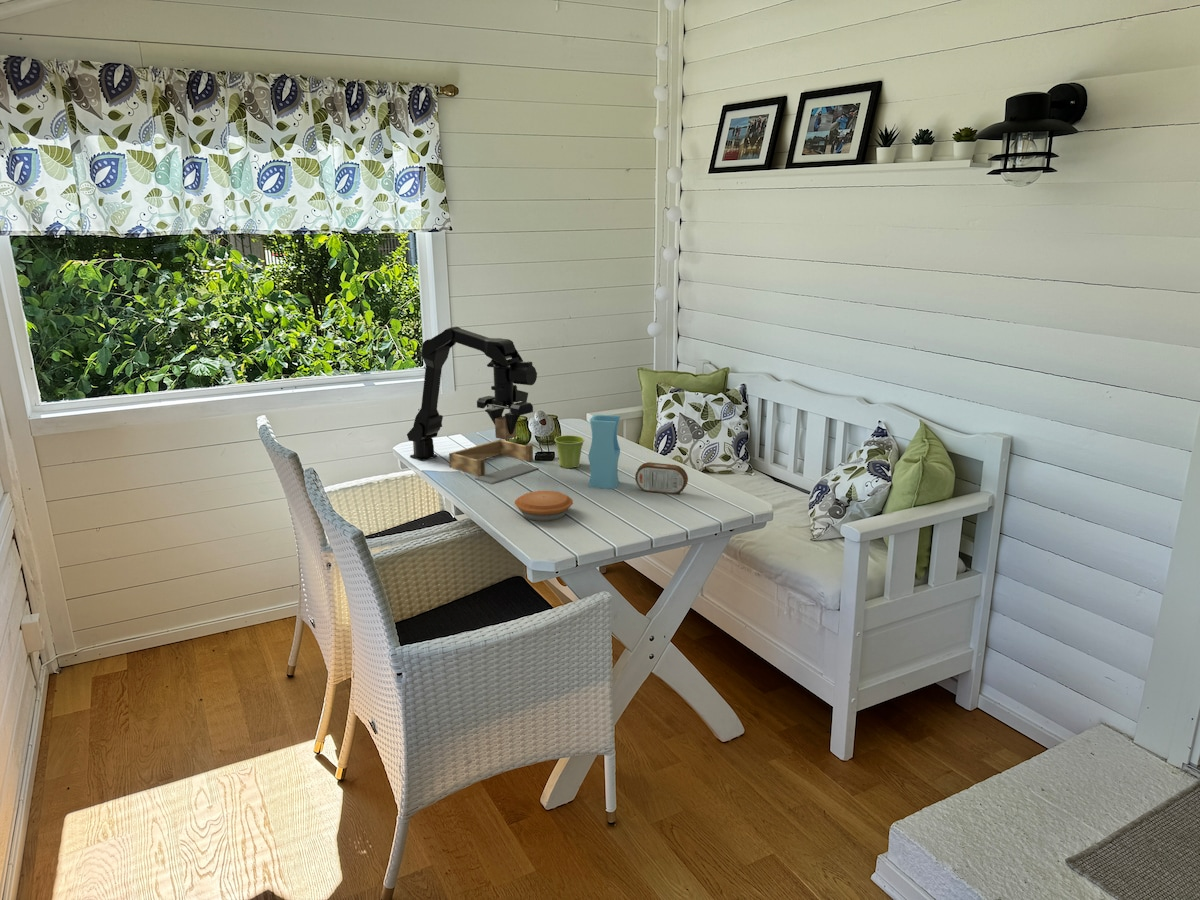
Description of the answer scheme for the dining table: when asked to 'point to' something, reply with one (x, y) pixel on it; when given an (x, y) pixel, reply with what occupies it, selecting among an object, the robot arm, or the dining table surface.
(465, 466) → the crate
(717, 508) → the dining table surface
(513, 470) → the mat
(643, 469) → the tin
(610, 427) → the wavy blue tube
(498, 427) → the block
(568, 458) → the plant pot
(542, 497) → the pie
